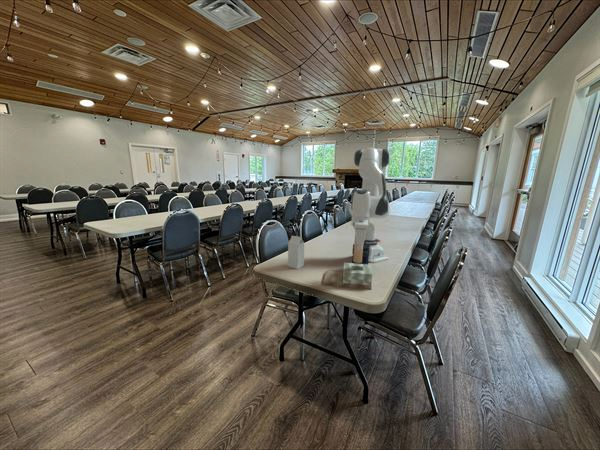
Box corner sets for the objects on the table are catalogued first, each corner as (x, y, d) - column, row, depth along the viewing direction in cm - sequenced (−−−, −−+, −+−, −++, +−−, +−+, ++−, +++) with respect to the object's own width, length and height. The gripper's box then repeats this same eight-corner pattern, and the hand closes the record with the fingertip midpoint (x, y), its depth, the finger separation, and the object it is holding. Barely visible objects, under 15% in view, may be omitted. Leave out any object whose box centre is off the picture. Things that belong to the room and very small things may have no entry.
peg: (358, 259, 133) (360, 234, 130) (363, 262, 129) (365, 236, 126) (351, 260, 131) (353, 234, 128) (356, 263, 127) (358, 236, 124)
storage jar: (348, 267, 152) (349, 243, 149) (362, 266, 155) (364, 242, 152) (356, 273, 143) (358, 248, 140) (371, 272, 146) (373, 247, 143)
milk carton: (297, 269, 148) (298, 238, 144) (288, 266, 152) (288, 236, 148) (303, 265, 154) (304, 236, 150) (294, 263, 158) (294, 234, 154)
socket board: (368, 276, 139) (369, 264, 137) (371, 289, 123) (372, 275, 122) (325, 273, 143) (326, 260, 142) (323, 284, 128) (323, 270, 126)
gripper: (353, 218, 136) (352, 242, 139) (354, 225, 117) (352, 253, 119) (365, 219, 135) (363, 243, 138) (368, 226, 116) (366, 254, 118)
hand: (358, 248), depth 128 cm, fingers closed on peg, 4 cm apart
